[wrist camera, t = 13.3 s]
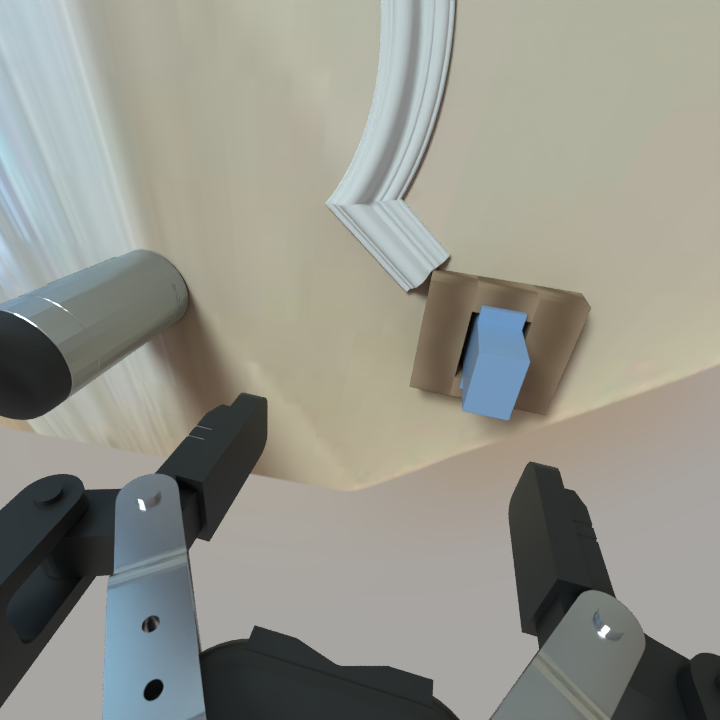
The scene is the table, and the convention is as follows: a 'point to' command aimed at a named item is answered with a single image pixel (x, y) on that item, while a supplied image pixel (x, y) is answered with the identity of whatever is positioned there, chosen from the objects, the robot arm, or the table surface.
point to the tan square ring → (468, 292)
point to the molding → (399, 140)
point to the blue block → (494, 362)
